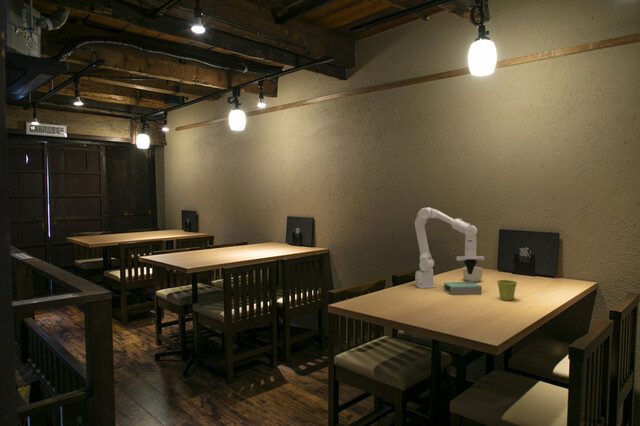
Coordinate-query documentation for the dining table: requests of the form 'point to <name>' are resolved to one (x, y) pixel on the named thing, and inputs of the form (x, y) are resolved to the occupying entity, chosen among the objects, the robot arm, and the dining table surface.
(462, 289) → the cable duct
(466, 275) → the teacup
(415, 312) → the dining table surface
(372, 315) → the dining table surface
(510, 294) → the plant pot
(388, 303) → the dining table surface
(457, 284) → the lid
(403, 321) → the dining table surface
